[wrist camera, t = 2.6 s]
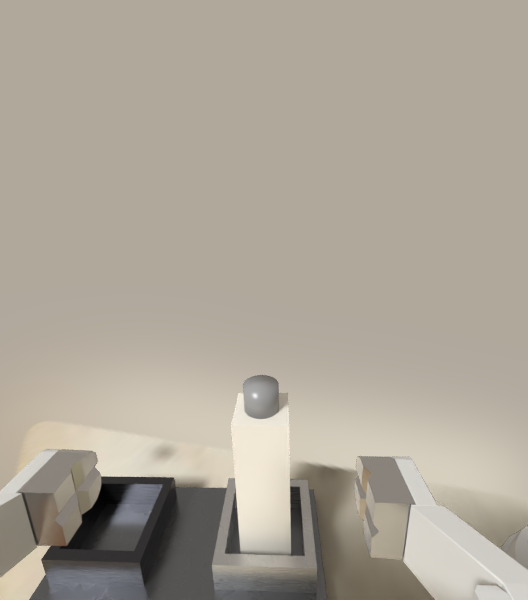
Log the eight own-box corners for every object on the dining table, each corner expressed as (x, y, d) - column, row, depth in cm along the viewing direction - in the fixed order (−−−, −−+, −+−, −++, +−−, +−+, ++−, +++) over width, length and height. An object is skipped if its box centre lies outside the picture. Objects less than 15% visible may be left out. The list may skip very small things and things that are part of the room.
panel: (313, 497, 31) (313, 469, 30) (328, 623, 21) (329, 588, 20) (105, 493, 32) (99, 466, 31) (30, 611, 23) (19, 577, 22)
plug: (289, 517, 28) (287, 370, 24) (291, 565, 24) (288, 400, 20) (246, 516, 28) (237, 371, 24) (241, 563, 24) (229, 400, 20)
